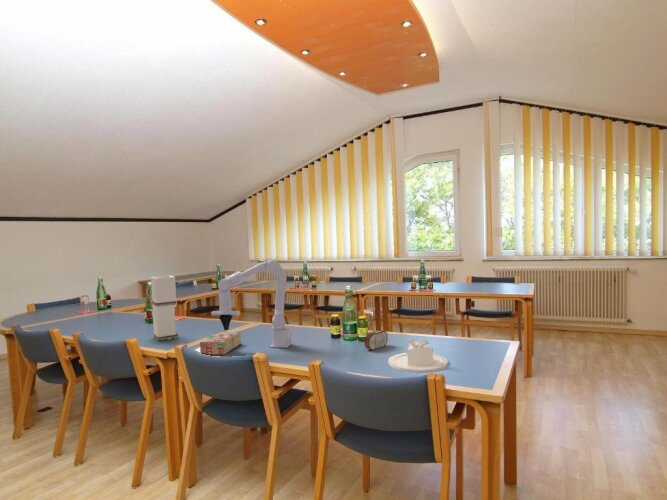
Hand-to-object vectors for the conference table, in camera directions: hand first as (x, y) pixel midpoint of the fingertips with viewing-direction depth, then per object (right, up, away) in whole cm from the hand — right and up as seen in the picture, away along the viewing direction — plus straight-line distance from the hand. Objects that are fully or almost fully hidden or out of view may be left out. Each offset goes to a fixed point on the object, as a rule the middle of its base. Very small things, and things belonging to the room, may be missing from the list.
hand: (226, 329), depth 214 cm
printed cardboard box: (+3, -7, 0) cm, 7 cm away
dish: (+89, -9, -31) cm, 95 cm away
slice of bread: (+75, -8, -6) cm, 75 cm away
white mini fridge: (-43, -11, +32) cm, 54 cm away
